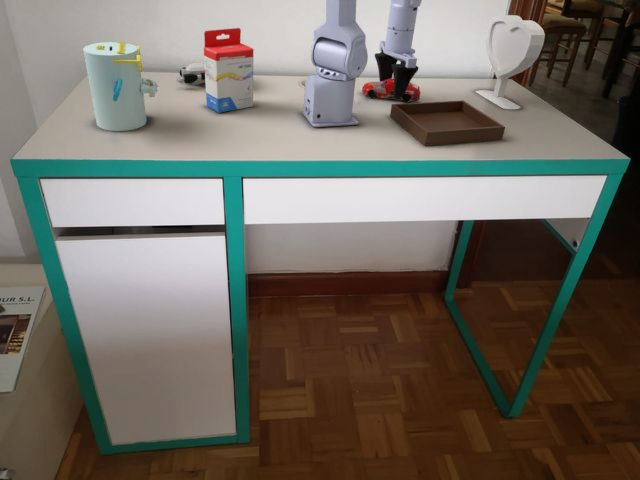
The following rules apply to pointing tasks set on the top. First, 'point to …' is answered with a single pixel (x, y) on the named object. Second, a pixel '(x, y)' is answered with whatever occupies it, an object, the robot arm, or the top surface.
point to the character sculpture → (117, 85)
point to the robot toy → (192, 74)
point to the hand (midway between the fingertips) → (391, 91)
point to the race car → (390, 90)
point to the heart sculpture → (510, 52)
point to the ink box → (228, 71)
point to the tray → (446, 122)
